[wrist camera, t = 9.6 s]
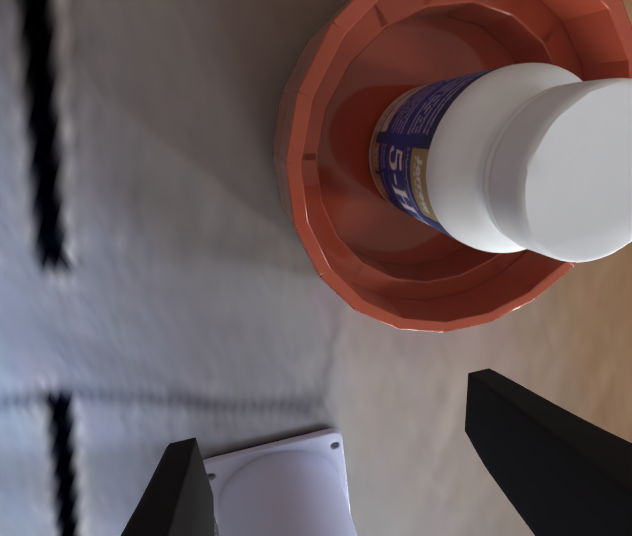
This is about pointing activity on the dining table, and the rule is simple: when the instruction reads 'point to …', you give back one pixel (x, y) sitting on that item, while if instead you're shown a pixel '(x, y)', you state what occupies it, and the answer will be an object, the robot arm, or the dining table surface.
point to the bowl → (358, 125)
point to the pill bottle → (513, 160)
